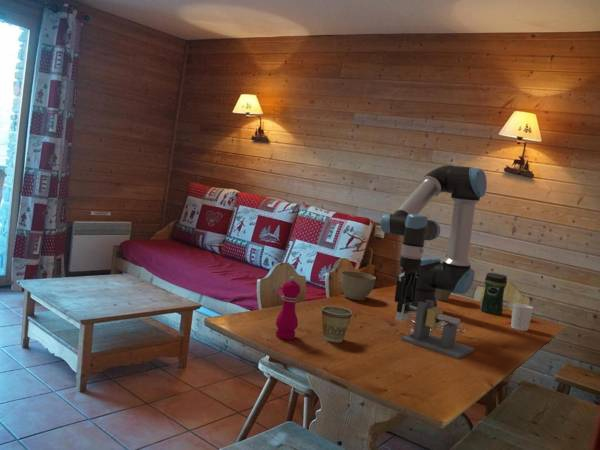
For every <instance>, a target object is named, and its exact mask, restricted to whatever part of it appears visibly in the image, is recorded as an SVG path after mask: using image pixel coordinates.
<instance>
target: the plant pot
mask: <svg viewBox="0 0 600 450" xmlns="http://www.w3.org/2000/svg"><path fill="white" fill-rule="evenodd" d="M451 294H452V292H448V291H444V290H440V289H436V292H435V295H436V301H442V302H443V301H447V300H448V299H449V297H450V296H451Z"/></svg>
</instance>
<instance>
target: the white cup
mask: <svg viewBox="0 0 600 450" xmlns="http://www.w3.org/2000/svg"><path fill="white" fill-rule="evenodd" d="M511 310H512V311H511V318H510V319H511V322H510V323H511V324H510V327H511V328H512V329H514V330H517V331H522V332H527V331H528V330H529V326H530V324H531V320H532V314H533V311H534V307H533V306H532V305H528V304H524V303H520V302H518V303H517V302H514V303H512V309H511Z"/></svg>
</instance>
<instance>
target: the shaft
mask: <svg viewBox="0 0 600 450" xmlns="http://www.w3.org/2000/svg"><path fill="white" fill-rule="evenodd" d="M404 304H405V309H404V314H406V313H409V312H410V313H411V314H415V315H416V312H417V307H415V306H411V305H410V304H411V302H409V301H406V300H405V301H404ZM426 317H427V310H426ZM436 320H439V321H441V322H443V323H446V324H448V323H449V324H453V325H456V326H457V327H459V326H460V324H461V319H460V318H458V317H453V316H450V315H446V314H443V313H442V314H440V313H438V314H437V316H436Z"/></svg>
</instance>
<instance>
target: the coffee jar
mask: <svg viewBox="0 0 600 450" xmlns="http://www.w3.org/2000/svg"><path fill="white" fill-rule="evenodd" d="M484 285H485V286H484V293H483V296H482V300H481V304H480V311H481V312H483V313H486V314H491V315H495V316H497V315H502V313H503V310H504V307H503V306H504V294H505V293H504V292H505V288H506V286H507V285H508V276H507V275H503V274H501V273H500V274H499V273H495V272H487V273H486V275H485V278H484Z"/></svg>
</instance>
